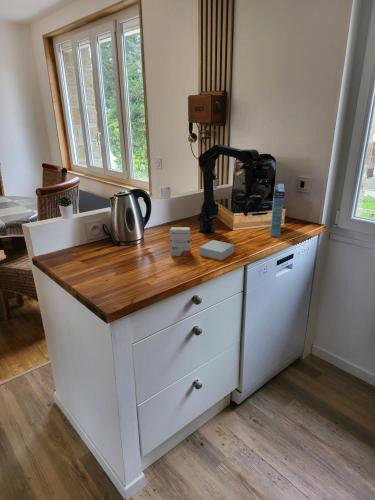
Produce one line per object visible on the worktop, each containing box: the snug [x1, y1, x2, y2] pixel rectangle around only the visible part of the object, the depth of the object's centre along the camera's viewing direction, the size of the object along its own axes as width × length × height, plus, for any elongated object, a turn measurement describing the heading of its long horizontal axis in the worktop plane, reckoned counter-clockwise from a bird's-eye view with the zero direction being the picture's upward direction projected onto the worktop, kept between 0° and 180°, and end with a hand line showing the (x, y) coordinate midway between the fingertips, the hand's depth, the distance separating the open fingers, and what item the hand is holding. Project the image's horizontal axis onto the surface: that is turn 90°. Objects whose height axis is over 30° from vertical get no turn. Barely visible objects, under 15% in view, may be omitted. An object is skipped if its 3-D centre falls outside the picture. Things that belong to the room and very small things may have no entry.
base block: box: [198, 239, 235, 261], centre depth 148 cm, size 11×11×4 cm
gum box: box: [270, 183, 286, 238], centre depth 172 cm, size 20×5×23 cm, turn 166°
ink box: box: [169, 226, 192, 257], centre depth 146 cm, size 9×5×12 cm, turn 84°
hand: (252, 214), depth 154 cm, fingers open, 9 cm apart
